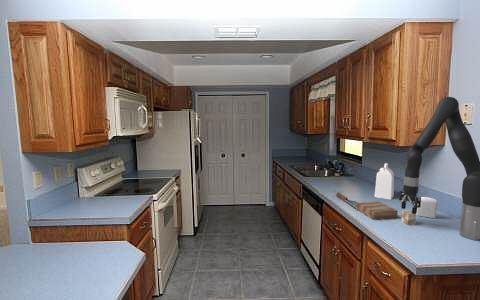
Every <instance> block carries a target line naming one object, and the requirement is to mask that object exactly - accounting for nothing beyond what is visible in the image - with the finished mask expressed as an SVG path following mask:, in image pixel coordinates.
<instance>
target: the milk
mask: <svg viewBox="0 0 480 300" xmlns="http://www.w3.org/2000/svg"><path fill="white" fill-rule="evenodd" d="M375 177H376V178H375V186H374V187H375V189H374V198H379V199H386V200H392V199H393V198H394V195H395V194H394V193H395V192H394V191H395V190H394V189H395V173H394V171H393V170H392V168H390V167H389V163H387V162H385V163H384V165H383V167H380V168H379V170H378V171H377V172H376V176H375Z"/></svg>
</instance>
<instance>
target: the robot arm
mask: <svg viewBox="0 0 480 300" xmlns="http://www.w3.org/2000/svg"><path fill="white" fill-rule="evenodd" d="M444 124H445V126H446V130H447V136H448V139H449V142H450V146H451V148H452V151H453V153H454V154H455V156H456V157H457V158H458V160H459V162H461V164H462V165H463V167H464V171H465V173H466V176H465V177H464V178H463V181H462V185H461V186H462V187H461V188H462V189H461V198H462V204H461V213H460V214H461V215H460V225H459V235H460V236H461V237H463V238H466V239H469V240H473V241H478V240H479V241H480V156H479V154H478V152H477V147H476V146H475V143H474V140H473V138H472V135H471V133H470V131H469V130H468V128H467V127H466V125H465V123H464V122H463V119H462V116H461V112H460V104H459V101H458V100H457V98H455V97H453V96H446V97H444V98H442V99H440V100H439V101H438V103H437V105H436V108H435V110H434V113H433V115H432V116H431V118H430V120H429V121H428V123H427V125H426V126H425V127H424V129H423V130H422V131H421V133H420V134H419V136H418V137H417V138H416V141H415V142H414V144H412V145H411V146H410V148H409V149H408V150H407V152H406V154H405V157H406V159H407V165H406V167H405V173H404V179H403V188H402V190H400V191H399V197H398V200H399V201H400V202H401V209H403V210H405V209H406V208H407V206H406V205H407V202H410V204H411V206H412V209H411V211H412V214H416V213H417V208H420V207H421V196H417V194H418V193H419V185H420V172H421V171H420V169H421V166H422V162H423V156H422V155H423V153H424V152H425V150H427V149H428V148H430V147H431V144H432V143H433V142H434V140H435V139H436V137H437V135H438V133H439V132H440V131H441V129H442V126H443V125H444Z"/></svg>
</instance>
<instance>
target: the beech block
mask: <svg viewBox="0 0 480 300" xmlns="http://www.w3.org/2000/svg"><path fill="white" fill-rule="evenodd" d="M416 220H417V215H416V214H412V210H410V209H409V210H405V209H403V210H402V211H401V220H400V221H401V223H403V224H405V225H407V226H414V225H415V226H416Z"/></svg>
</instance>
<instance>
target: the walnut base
mask: <svg viewBox="0 0 480 300" xmlns="http://www.w3.org/2000/svg"><path fill="white" fill-rule="evenodd" d="M357 208H358V209H356V211H358V212H360V213H361V214H363V215H364V216H366V217H368V218H370V219H371V220H374V221H376V220H378V221H379V220H392V219H398V213H399V212H398V210H397V209H395V208H393V207H392V206H389V205H387V204H385V203H383V202H380V201H365V202H357Z"/></svg>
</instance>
